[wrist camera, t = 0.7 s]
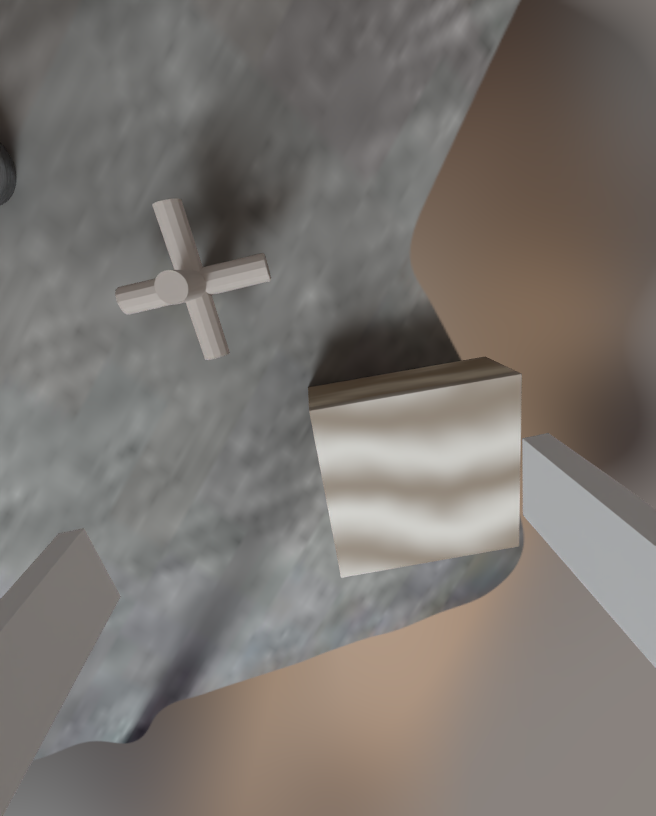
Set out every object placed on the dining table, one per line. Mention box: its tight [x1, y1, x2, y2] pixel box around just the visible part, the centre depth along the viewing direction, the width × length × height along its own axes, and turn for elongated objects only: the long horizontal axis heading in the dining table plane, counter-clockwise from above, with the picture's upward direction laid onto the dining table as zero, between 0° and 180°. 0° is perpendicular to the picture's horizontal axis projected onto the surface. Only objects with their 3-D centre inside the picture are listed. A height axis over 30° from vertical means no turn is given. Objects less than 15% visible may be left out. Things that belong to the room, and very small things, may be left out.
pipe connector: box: [115, 199, 271, 360], centre depth 26 cm, size 10×10×10 cm
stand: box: [308, 357, 522, 578], centre depth 34 cm, size 16×16×6 cm
